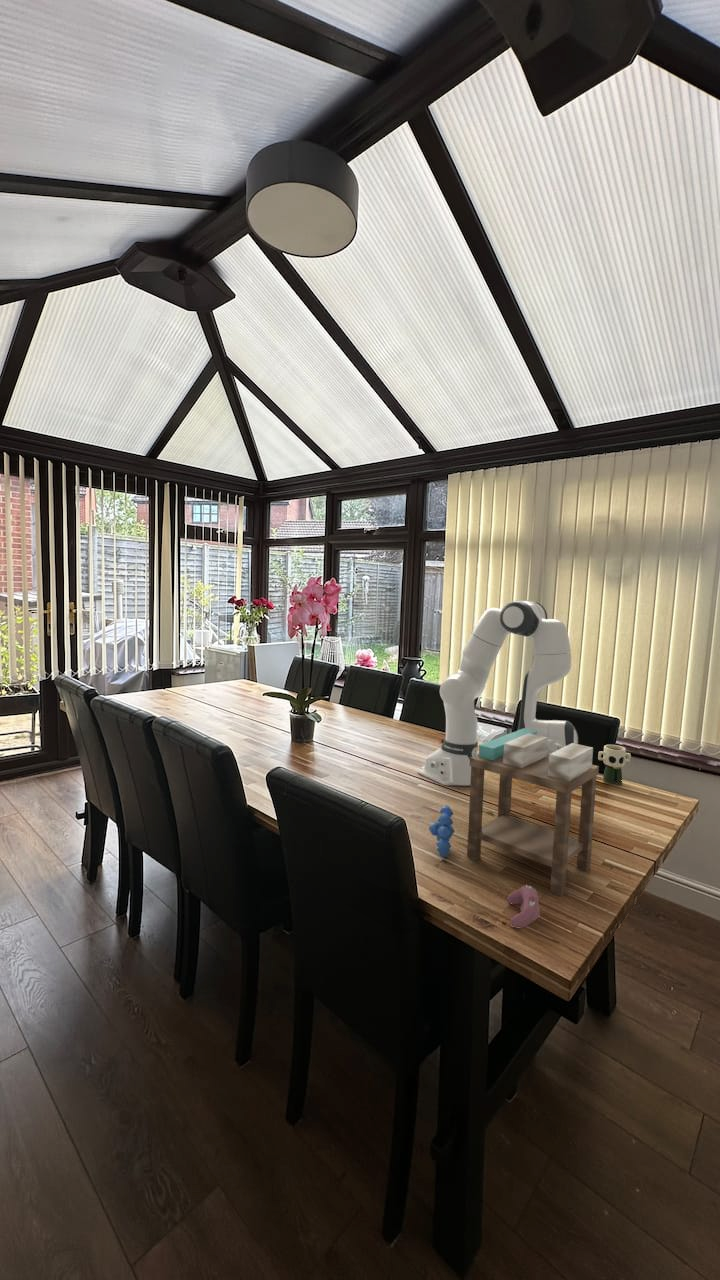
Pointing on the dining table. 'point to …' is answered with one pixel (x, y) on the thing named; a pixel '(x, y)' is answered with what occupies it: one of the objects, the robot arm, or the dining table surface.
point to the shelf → (548, 771)
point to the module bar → (500, 744)
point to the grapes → (443, 830)
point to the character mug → (613, 762)
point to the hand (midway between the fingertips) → (529, 740)
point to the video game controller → (525, 906)
